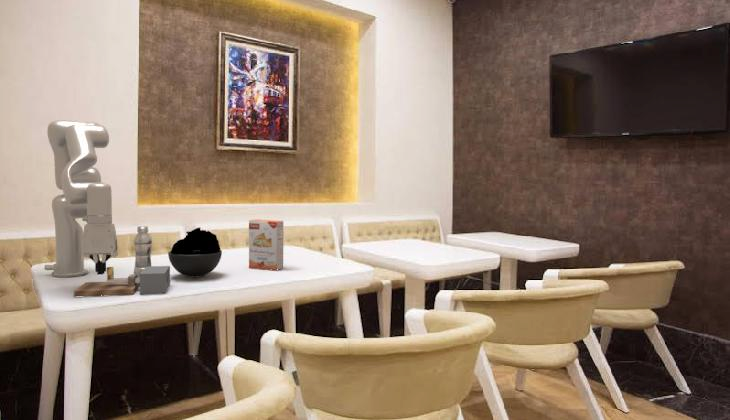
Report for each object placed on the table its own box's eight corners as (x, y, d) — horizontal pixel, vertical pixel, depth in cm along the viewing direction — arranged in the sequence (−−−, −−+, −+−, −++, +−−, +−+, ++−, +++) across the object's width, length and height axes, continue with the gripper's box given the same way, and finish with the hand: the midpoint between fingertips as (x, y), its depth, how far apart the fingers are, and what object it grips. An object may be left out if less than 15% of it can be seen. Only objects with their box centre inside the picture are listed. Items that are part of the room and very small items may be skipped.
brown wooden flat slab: (73, 297, 173) (73, 281, 172) (85, 287, 186) (85, 273, 186) (133, 294, 177) (133, 279, 177) (140, 286, 190) (140, 271, 190)
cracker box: (248, 268, 228) (248, 219, 226) (256, 266, 233) (256, 218, 232) (276, 271, 222) (276, 221, 221) (283, 268, 228) (283, 220, 226)
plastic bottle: (137, 277, 206) (136, 225, 204) (155, 277, 206) (154, 226, 205) (131, 280, 199) (130, 227, 198) (149, 280, 200) (149, 227, 198)
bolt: (106, 284, 180) (106, 268, 180) (108, 282, 182) (107, 266, 182) (144, 283, 183) (144, 266, 183) (145, 281, 185) (145, 265, 185)
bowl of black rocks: (202, 283, 196) (202, 233, 195) (157, 279, 202) (156, 230, 200) (231, 273, 215) (231, 227, 214) (189, 270, 221) (188, 225, 219)
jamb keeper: (139, 294, 177) (139, 273, 177) (146, 285, 191) (146, 266, 190) (165, 293, 179) (165, 273, 179) (170, 284, 193) (169, 265, 192)
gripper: (72, 221, 174) (73, 276, 175) (121, 221, 177) (122, 275, 179) (78, 219, 181) (80, 272, 182) (125, 219, 185) (126, 271, 186)
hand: (100, 273), depth 180 cm, fingers closed
